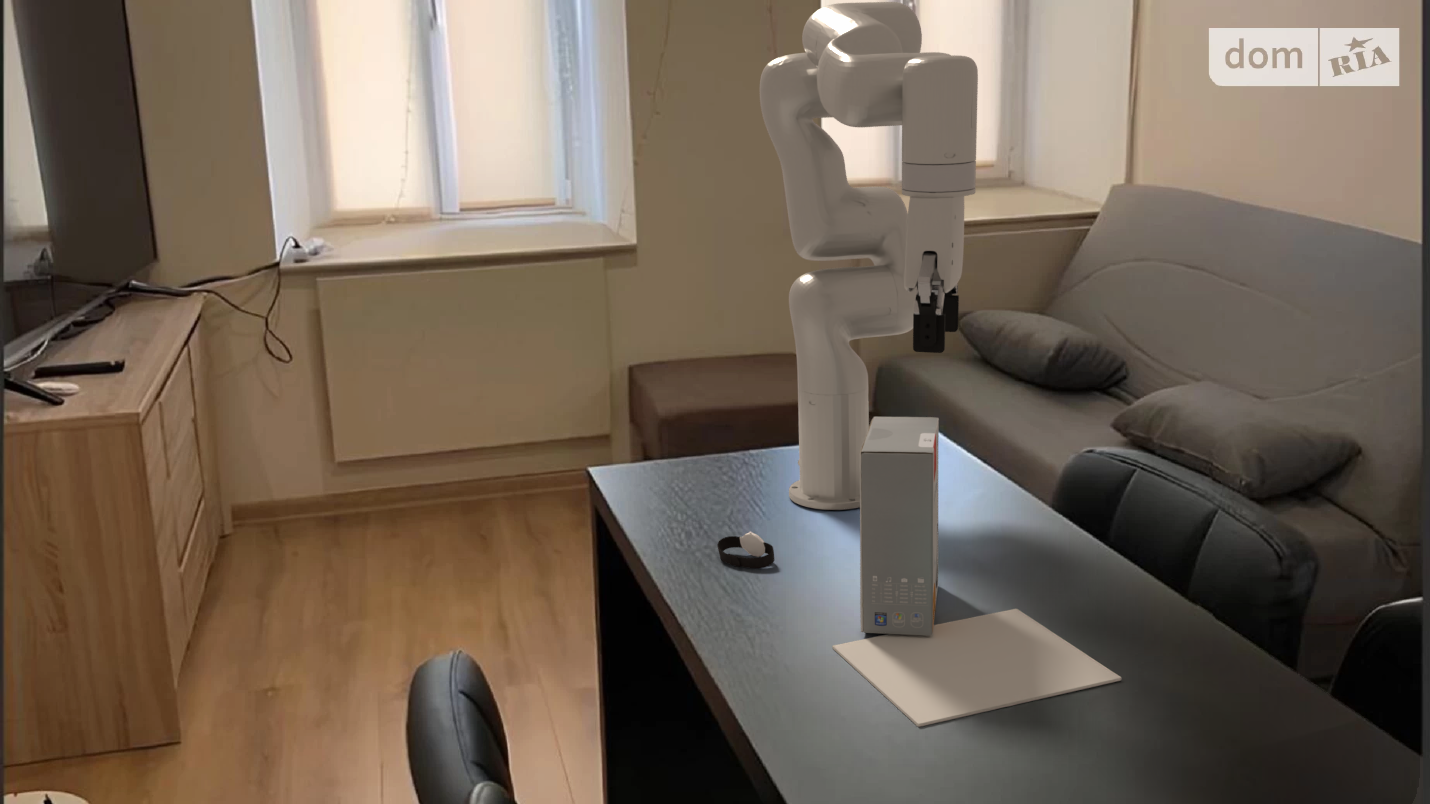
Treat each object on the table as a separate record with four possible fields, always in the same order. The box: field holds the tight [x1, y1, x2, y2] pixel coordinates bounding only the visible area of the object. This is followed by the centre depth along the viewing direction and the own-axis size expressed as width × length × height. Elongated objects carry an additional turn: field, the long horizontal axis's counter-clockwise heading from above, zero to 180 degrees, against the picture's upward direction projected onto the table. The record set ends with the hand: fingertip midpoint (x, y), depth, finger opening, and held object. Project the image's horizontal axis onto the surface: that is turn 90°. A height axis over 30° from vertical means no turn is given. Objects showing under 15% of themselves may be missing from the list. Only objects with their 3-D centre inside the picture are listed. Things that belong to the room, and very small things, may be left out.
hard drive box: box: [859, 416, 940, 636], centre depth 141 cm, size 16×8×20 cm, turn 168°
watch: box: [716, 531, 775, 570], centre depth 159 cm, size 8×5×4 cm, turn 54°
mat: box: [832, 608, 1122, 728], centre depth 130 cm, size 18×22×1 cm
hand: (936, 341), depth 140 cm, fingers open, 9 cm apart
